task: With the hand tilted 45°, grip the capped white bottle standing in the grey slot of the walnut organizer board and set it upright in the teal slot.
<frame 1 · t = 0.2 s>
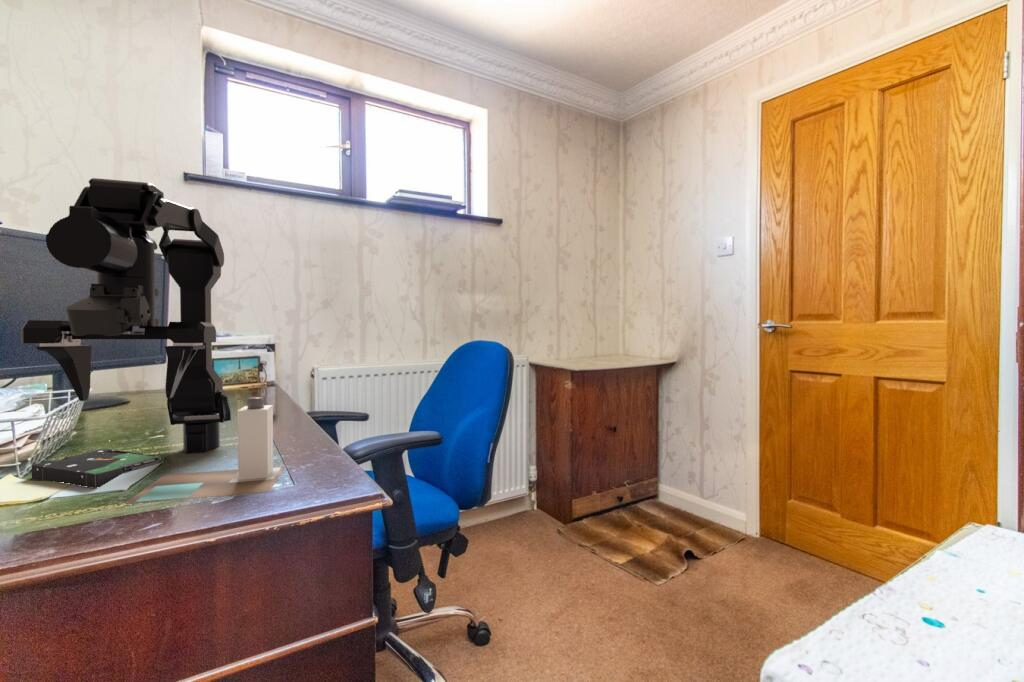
hand: (127, 399, 59), 15 cm above the table, tool pointing down, fingers open, 9 cm apart
capped white bottle: (256, 474, 71), point 1 cm above the table, touching organizer board
disk drive: (100, 477, 75), on the table
organizer board: (214, 490, 67), on the table
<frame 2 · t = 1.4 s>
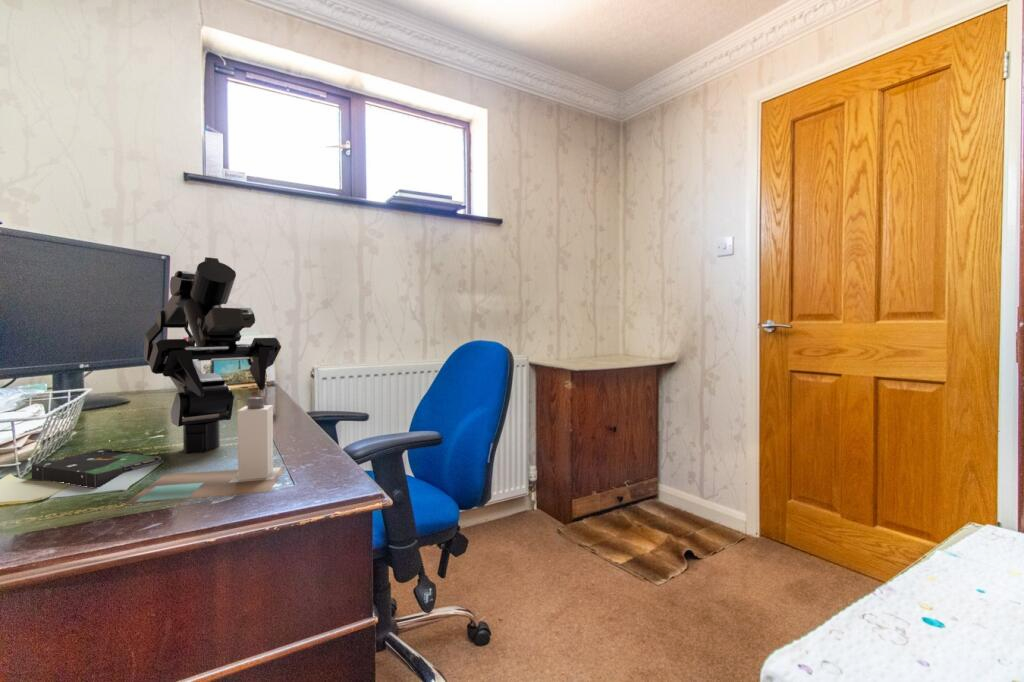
hand: (233, 391, 76), 13 cm above the table, tool tilted 45°, fingers open, 9 cm apart
nothing on the table moved.
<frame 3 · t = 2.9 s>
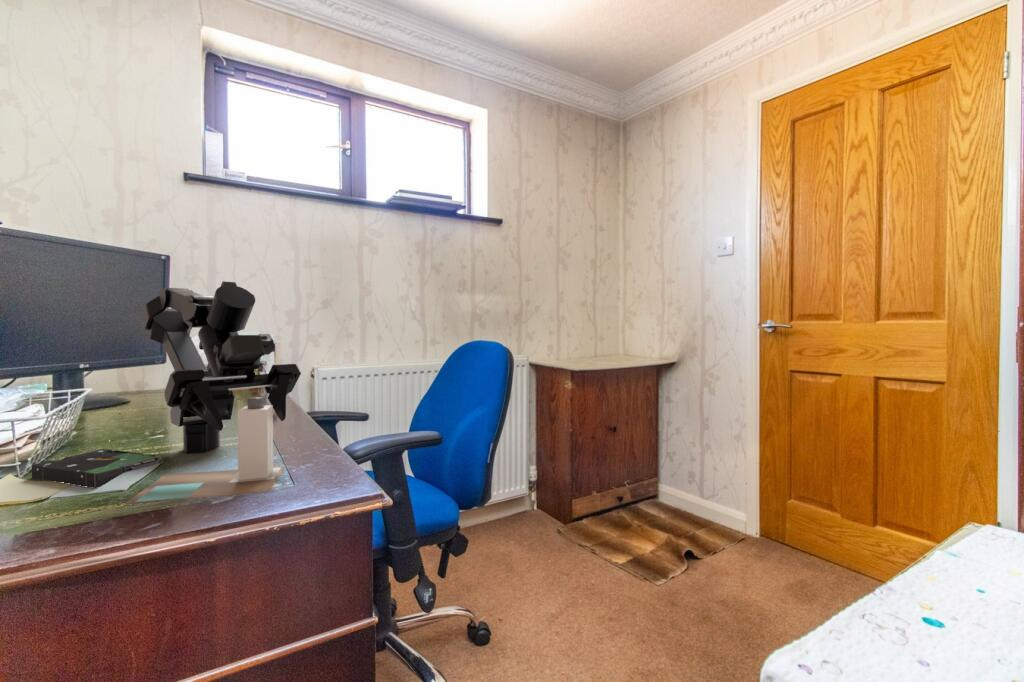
hand: (254, 423, 71), 9 cm above the table, tool tilted 45°, fingers open, 9 cm apart
nothing on the table moved.
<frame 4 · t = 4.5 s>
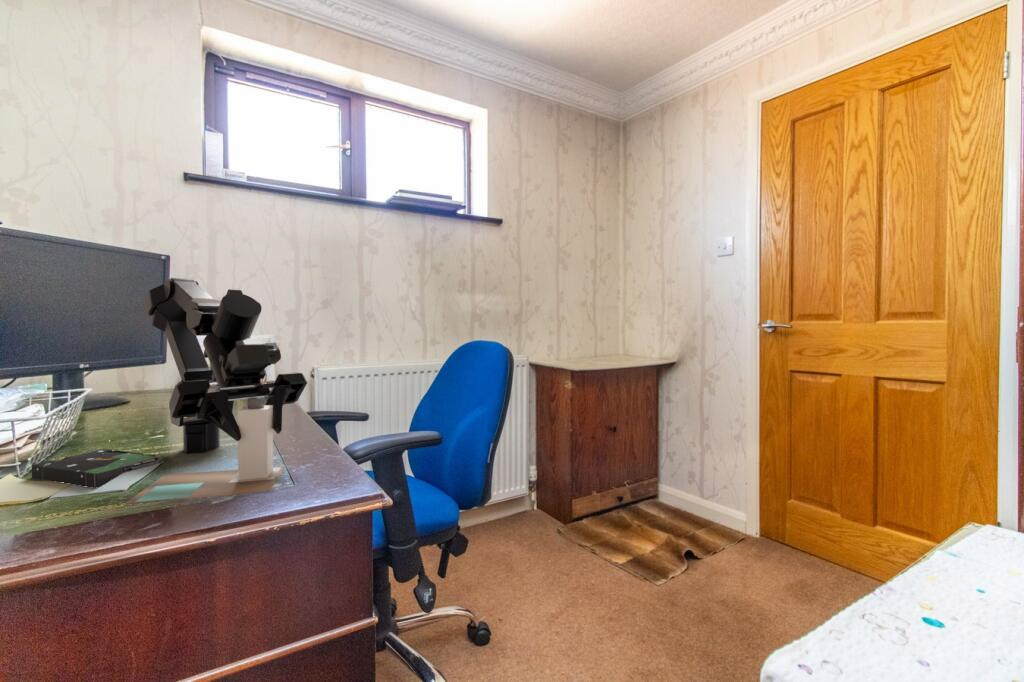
hand: (260, 435, 70), 8 cm above the table, tool tilted 45°, fingers closed on capped white bottle, 5 cm apart
capped white bottle: (256, 474, 71), point 1 cm above the table, touching gripper, organizer board
everything else where it was.
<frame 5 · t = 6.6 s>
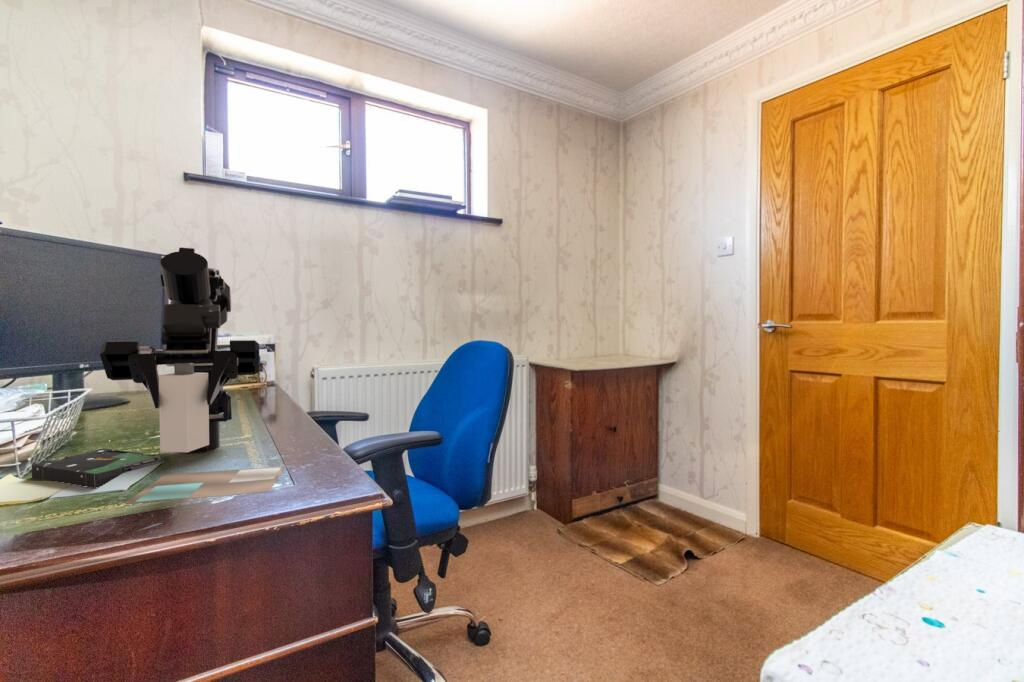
hand: (183, 404, 63), 14 cm above the table, tool tilted 45°, fingers closed on capped white bottle, 5 cm apart
capped white bottle: (185, 447, 64), point 7 cm above the table, touching gripper
everything else where it was.
when the fingers open (9 cm above the table, at t = 8.7 s): capped white bottle drops 1 cm, resting on organizer board.
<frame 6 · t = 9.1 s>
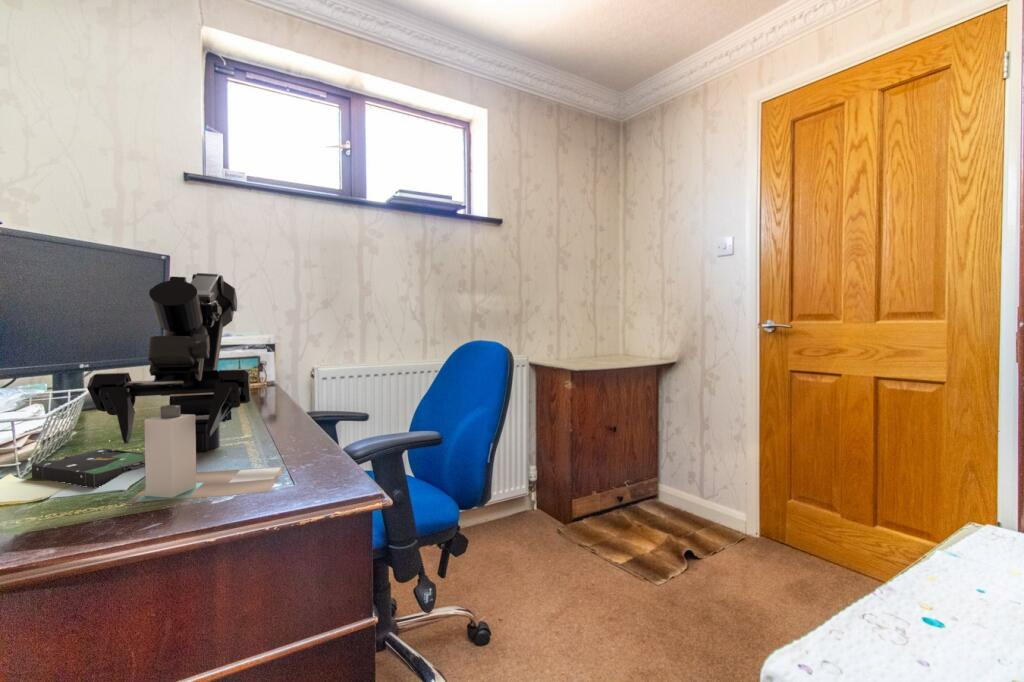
hand: (168, 438, 62), 9 cm above the table, tool tilted 45°, fingers open, 9 cm apart
capped white bottle: (171, 491, 64), point 1 cm above the table, touching organizer board
everything else where it was.
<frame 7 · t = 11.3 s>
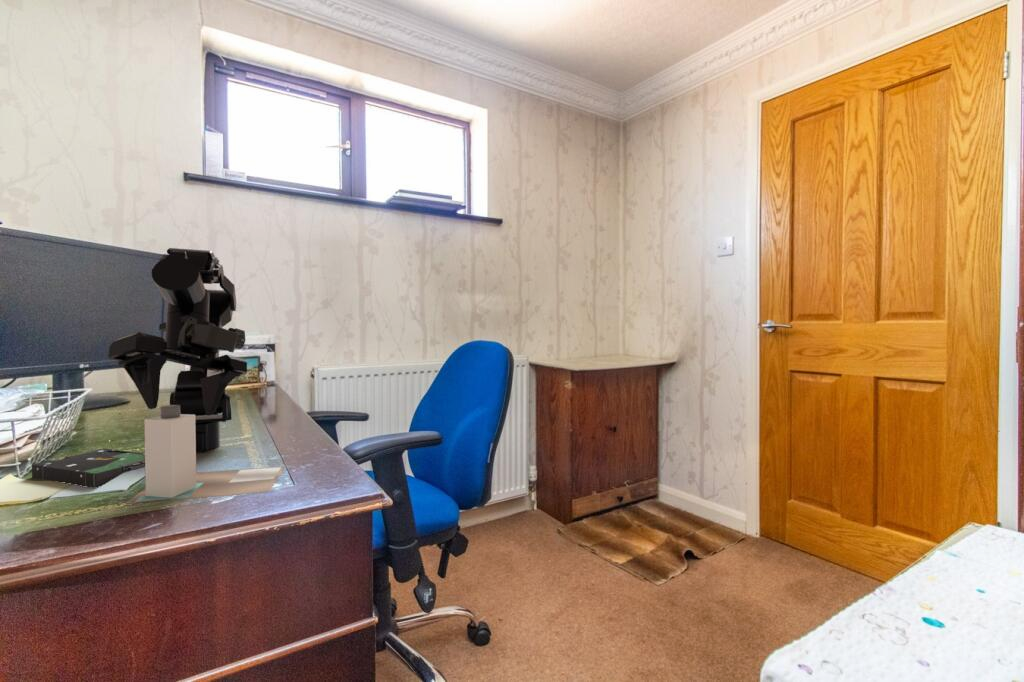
hand: (183, 412, 70), 11 cm above the table, tool tilted 25°, fingers open, 9 cm apart
nothing on the table moved.
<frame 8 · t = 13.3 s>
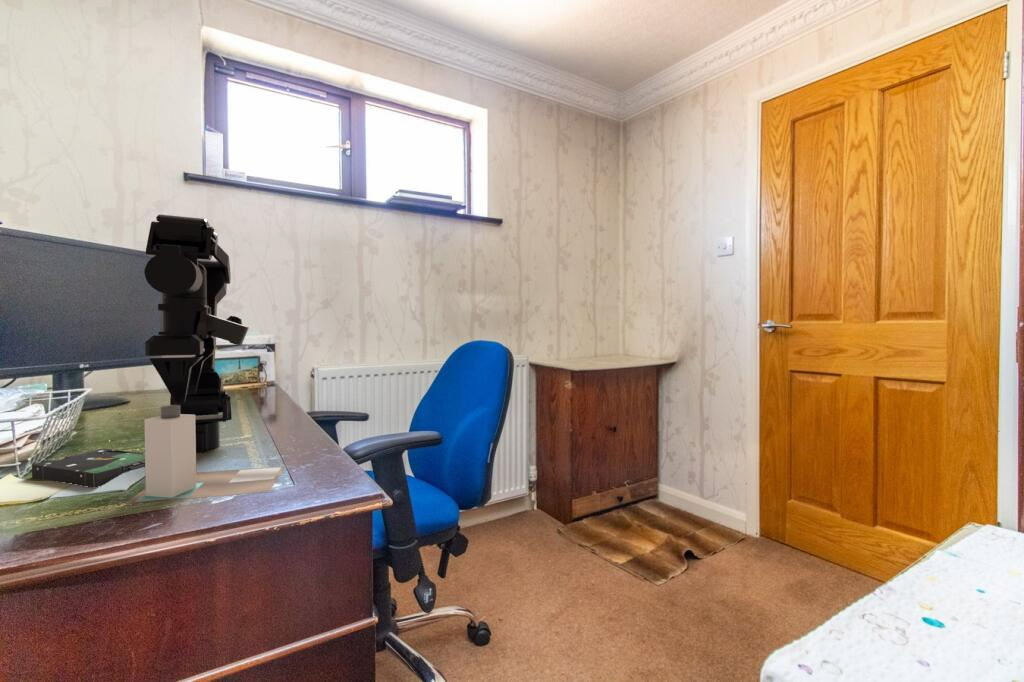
hand: (186, 398, 71), 13 cm above the table, tool pointing down, fingers open, 9 cm apart
nothing on the table moved.
at the end: capped white bottle 0.1 cm from the target spot, point 1.2 cm above the table; capped white bottle tilted 0°; the gripper is holding nothing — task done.
